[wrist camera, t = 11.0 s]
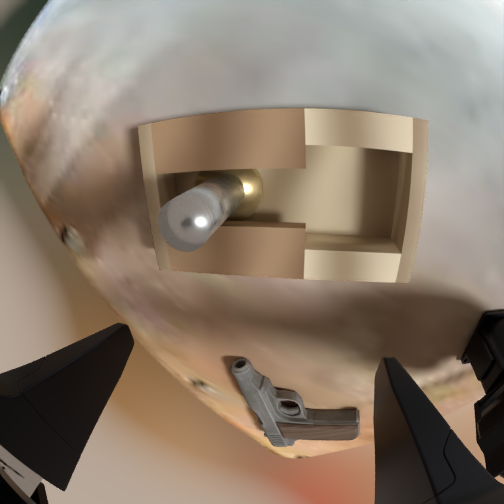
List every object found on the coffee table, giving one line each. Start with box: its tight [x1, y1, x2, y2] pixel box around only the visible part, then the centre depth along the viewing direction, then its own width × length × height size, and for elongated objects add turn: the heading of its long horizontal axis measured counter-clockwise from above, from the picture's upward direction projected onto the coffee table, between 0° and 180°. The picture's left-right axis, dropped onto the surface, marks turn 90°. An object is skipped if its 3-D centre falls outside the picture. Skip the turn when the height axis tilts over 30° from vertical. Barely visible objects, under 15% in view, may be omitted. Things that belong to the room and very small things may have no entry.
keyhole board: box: [138, 108, 428, 283], centre depth 16 cm, size 17×10×3 cm, turn 93°
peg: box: [158, 169, 263, 252], centre depth 15 cm, size 4×4×8 cm
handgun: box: [229, 358, 360, 447], centre depth 26 cm, size 3×16×12 cm
